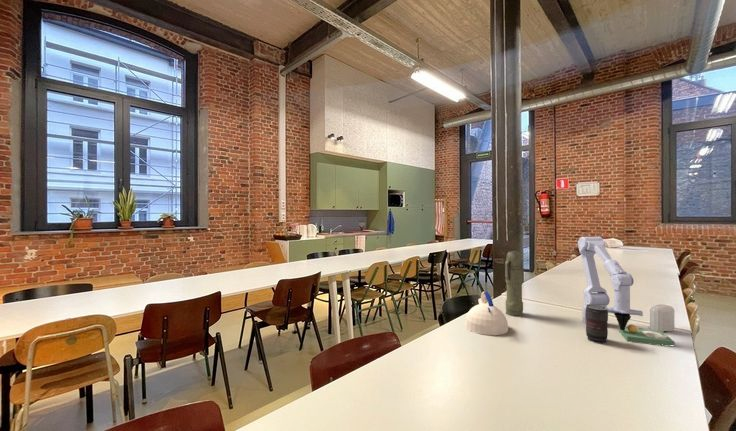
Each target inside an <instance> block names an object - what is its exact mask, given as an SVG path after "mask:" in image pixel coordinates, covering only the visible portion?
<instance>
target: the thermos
mask: <svg viewBox="0 0 736 431" xmlns="http://www.w3.org/2000/svg"><path fill="white" fill-rule="evenodd" d="M523 271H524V270H523V260H522V255H521V252H520V251H518V250H509V251H507V254H506V260H505V263H504V277H505V283H506V284H505V285H506V299H505V314H506V315H508V316H510V317H523V316H524V313H523V312H524V302H523V283H524V279H523V278H524V277H523V276H524V275H523V274H524V273H523Z"/></svg>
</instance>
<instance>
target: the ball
mask: <svg viewBox="0 0 736 431" xmlns="http://www.w3.org/2000/svg"><path fill="white" fill-rule="evenodd" d="M626 328H627V329H628V330H629V331H630V332H632V333H635V332H637V330H638V329H639V328H638V326H637V325H635V324H628V325H627V326H626Z"/></svg>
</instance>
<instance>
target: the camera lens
mask: <svg viewBox="0 0 736 431" xmlns="http://www.w3.org/2000/svg"><path fill="white" fill-rule="evenodd" d="M607 308H608V307H604V306H600V305H593V304H589V305H587V307H586V324H585V334H586V336H587V340H588V341H589V342H591V343H596V344H605V343H606V342H607V340H608V336H609V335H608V334H609V332H608V330H609V329H608V327H609V325H608V321H609V313H608V310H607Z"/></svg>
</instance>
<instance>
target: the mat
mask: <svg viewBox="0 0 736 431" xmlns="http://www.w3.org/2000/svg"><path fill="white" fill-rule="evenodd" d="M618 332H619V333H621V334H620V335H621V336H622V337H623V339H625V341H626V342H630V341H632V342H631V343H638V342H642V343H641V344H647V343H651V344H650V345H655V344H663V345H674V346H675V345H676V344H675V340H673V339H672V338H671V337H669V336H668V335H667V334H665V332H660V331H652V330H651V329H649V330H647V329H642V328H641V329H639V328H638V330H637V332H635V333H632V332H630V331H629V330H628V329H627V327H625V330H620V328H619V327H618ZM663 345H662V346H663Z"/></svg>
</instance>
